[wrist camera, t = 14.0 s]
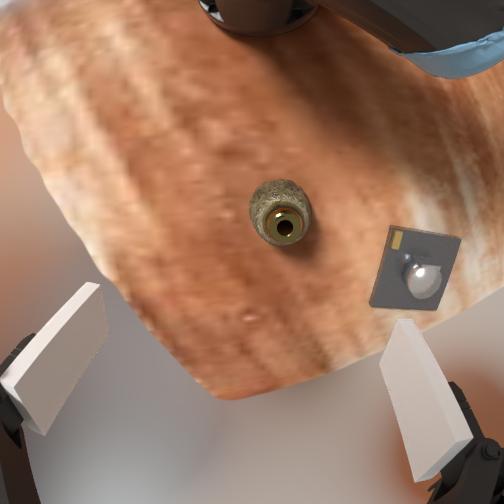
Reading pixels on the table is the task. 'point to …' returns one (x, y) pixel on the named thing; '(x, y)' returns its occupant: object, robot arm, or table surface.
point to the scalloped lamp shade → (280, 211)
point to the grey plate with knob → (414, 269)
